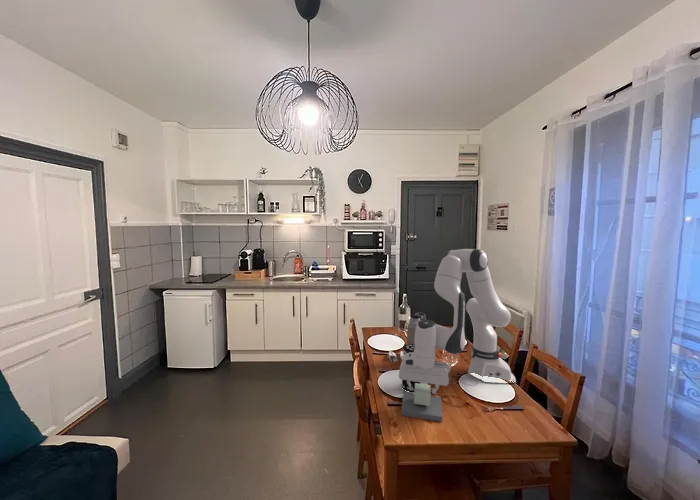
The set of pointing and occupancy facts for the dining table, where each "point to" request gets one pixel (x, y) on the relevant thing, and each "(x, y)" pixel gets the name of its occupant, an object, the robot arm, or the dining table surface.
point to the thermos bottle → (412, 328)
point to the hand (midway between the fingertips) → (422, 391)
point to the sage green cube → (422, 394)
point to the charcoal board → (421, 408)
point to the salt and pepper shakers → (395, 356)
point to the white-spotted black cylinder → (407, 349)
